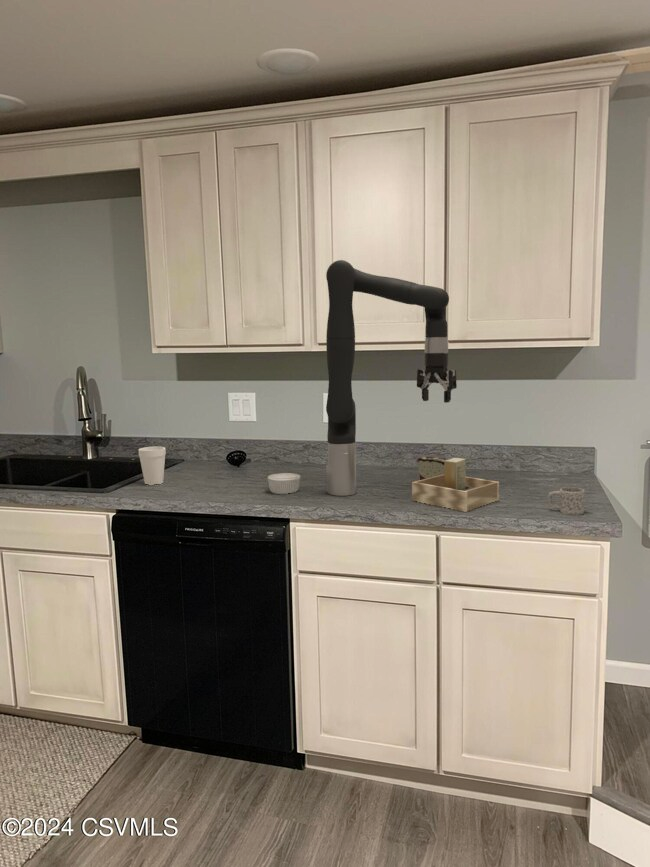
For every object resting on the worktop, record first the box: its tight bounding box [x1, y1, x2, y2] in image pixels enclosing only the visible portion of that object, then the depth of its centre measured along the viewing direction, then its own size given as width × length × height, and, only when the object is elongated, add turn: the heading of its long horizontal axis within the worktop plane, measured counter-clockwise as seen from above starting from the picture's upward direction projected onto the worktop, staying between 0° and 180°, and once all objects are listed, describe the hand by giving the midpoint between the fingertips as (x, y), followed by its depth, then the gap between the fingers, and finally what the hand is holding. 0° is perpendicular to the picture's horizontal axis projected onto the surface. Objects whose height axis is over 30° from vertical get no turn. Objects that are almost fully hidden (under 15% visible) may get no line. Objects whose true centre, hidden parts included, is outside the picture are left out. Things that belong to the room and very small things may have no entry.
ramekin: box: [267, 472, 301, 495], centre depth 229 cm, size 11×11×5 cm
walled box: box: [411, 474, 500, 513], centre depth 211 cm, size 20×18×6 cm
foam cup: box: [138, 445, 167, 485], centre depth 244 cm, size 10×9×13 cm
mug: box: [547, 486, 586, 516], centre depth 196 cm, size 10×7×7 cm
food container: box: [415, 454, 449, 481], centre depth 233 cm, size 12×6×10 cm, turn 48°
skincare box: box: [444, 457, 467, 490], centre depth 210 cm, size 6×4×12 cm
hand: (436, 401), depth 219 cm, fingers open, 8 cm apart
